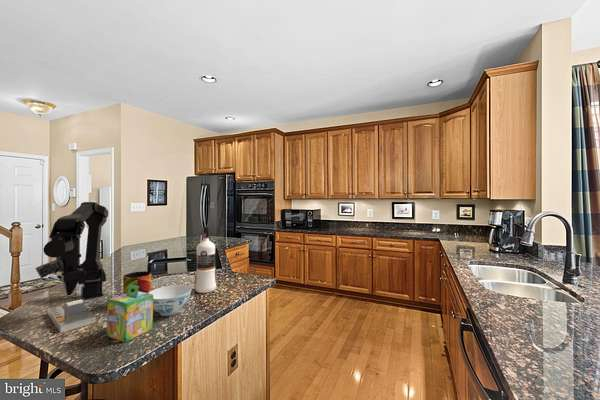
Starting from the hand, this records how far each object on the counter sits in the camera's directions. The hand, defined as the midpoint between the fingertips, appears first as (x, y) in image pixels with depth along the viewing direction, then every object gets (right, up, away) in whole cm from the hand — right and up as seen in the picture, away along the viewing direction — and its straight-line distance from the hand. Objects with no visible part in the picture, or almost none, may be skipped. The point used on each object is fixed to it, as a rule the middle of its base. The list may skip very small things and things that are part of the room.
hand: (69, 294), depth 93 cm
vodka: (+40, -8, +27) cm, 49 cm away
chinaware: (+35, -8, +3) cm, 36 cm away
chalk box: (+31, -8, -12) cm, 34 cm away
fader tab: (+6, -5, -5) cm, 10 cm away
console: (+2, -8, -2) cm, 8 cm away
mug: (+17, -8, +13) cm, 23 cm away
